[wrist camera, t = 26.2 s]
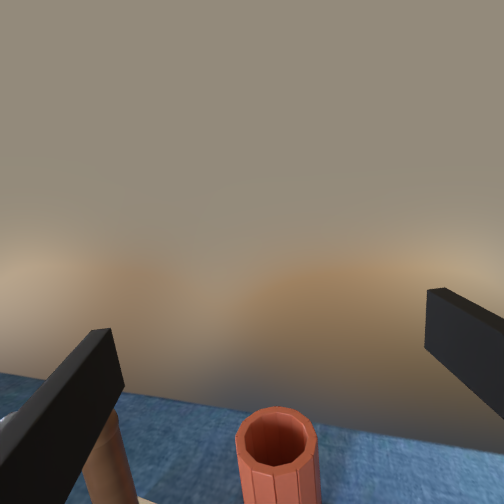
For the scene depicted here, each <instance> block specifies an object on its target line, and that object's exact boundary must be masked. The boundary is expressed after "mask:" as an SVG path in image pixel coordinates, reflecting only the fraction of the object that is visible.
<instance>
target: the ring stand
mask: <svg viewBox="0 0 504 504" xmlns="http://www.w3.org/2000/svg"><path fill="white" fill-rule="evenodd" d="M118 424H119V420H118V415H117V413H116V411H115V410H114V408H113V410H112V412H111V414H110V416H109V418H108V420H107V422H106V424H105V426H104V428H103V430H102V432H101V434H100V435H99V437H98V439H97V441H96V443H95V445H94V447H93V449H92V451H91V453H90V455H89V457H88V459H87V461H86V463H85V465H84V467H83V469H82V473H83V476H84V479H85V482H86V485H87V488H88V492H89V495H90V498H91V501H92V504H156V503H153V502H151V501H148V500H145V499H143V498H140V497H138V496H137V494H136V490H135V486H134V482H133V478H132V475H131V471H130V467H129V463H128V459H127V456H126V452H125V448H124V444H123V440H122V437H121V433H120V429H119V425H118Z"/></svg>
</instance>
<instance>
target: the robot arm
mask: <svg viewBox="0 0 504 504" xmlns="http://www.w3.org/2000/svg"><path fill="white" fill-rule="evenodd" d="M424 347H425V349H426V350H428V351H429V352H430V353H431V354H432V355H433V356H434V357H435V358H436V359H437V360H438V361H439V362H441V363H442V364H443V365H444V366H445V367H446V368H447V369H448V370H450V371H451V372H452V373H453V374H454V375H455V376H456V377H457V378H458V379H459V380H461V381H462V382H463V383H464V384H465V385H466V386H467V387H468V388H469V389H470V390H472V391H473V392H474V393H475V394H476V395H477V396H478V397H479V398H480V399H482V400H483V401H484V402H485V403H486V404H487V405H488V406H490V407H491V408H492V409H493V410H494V411H495V412H496V413H497V414H499V416H501V417H502V418H503V419H504V319H503V318H501V317H499V316H498V315H496V314H494V313H492V312H490V311H488V310H486V309H484V308H482V307H481V306H479V305H477V304H475V303H473V302H471V301H469V300H467V299H466V298H464V297H462V296H460V295H458V294H456V293H454V292H452V291H451V290H449V289H447V288H438V289H429V290H427V303H426V326H425V346H424ZM124 387H125V384H124V380H123V376H122V372H121V368H120V364H119V360H118V356H117V352H116V348H115V343H114V339H113V335H112V332H111V328H106V329H97V330H91V331H90V332H89V334H88V335H87V336H86V337H85V338H84V339H83V340H82V341H81V342H80V344H79V345H78V346H77V347H76V348H75V349H74V350H73V351H72V352H71V353H70V354H69V355H68V357H67V358H66V359H65V360H64V361H63V362H62V363H61V364H60V365H59V367H58V368H57V369H56V370H55V371H54V372H53V373H52V374H51V375H50V376H49V377H48V379H47V380H46V381H45V382H44V383H43V384H42V385H41V386H40V387H39V388H38V390H37V391H36V392H35V393H34V394H33V395H32V396H31V397H30V398H29V399H28V400H27V402H26V403H25V404H24V405H23V406H22V407H21V408H20V409H19V410H18V411H17V412H11V413H10V414H8V415H7V416H6V417H4V418H3V419H2V420H0V504H65V502H66V500H67V498H68V496H69V494H70V492H71V490H72V488H73V486H74V484H75V482H76V480H77V478H78V476H79V475H80V473H81V471H82V469H83V467H84V465H85V463H86V461H87V459H88V457H89V455H90V453H91V451H92V449H93V447H94V445H95V443H96V441H97V439H98V437H99V435H100V434H101V432H102V430H103V428H104V426H105V424H106V422H107V420H108V418H109V416H110V414H111V412H112V410H113V408H114V406H115V404H116V402H117V400H118V398H119V396H120V395H121V393H122V391H123V389H124Z"/></svg>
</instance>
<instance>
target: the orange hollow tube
mask: <svg viewBox="0 0 504 504" xmlns="http://www.w3.org/2000/svg"><path fill="white" fill-rule="evenodd" d="M235 441H236V450H237V458H238V465H239V471H240V478H241V485H242V491H243V498H244V504H322V501H321V486H320V470H319V455H318V439H317V435H316V432H315V430H314V428H313V426H312V423H311V421H310V420H309V419H308V418H306V417H305V416H304V415H302V414H301V413H300V412H298V411H297V410H294V409H290V408H285V407H280V406H278V407H276V406H274V407H269V408H265V409H260V410H259V411H256V412H255V413H253V414H252V415H250V416H249V417H248V418H246V419H245V420H244V421H243V422H242V424H241V426H240V428H239V430H238V432H237V434H236V437H235Z"/></svg>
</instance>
